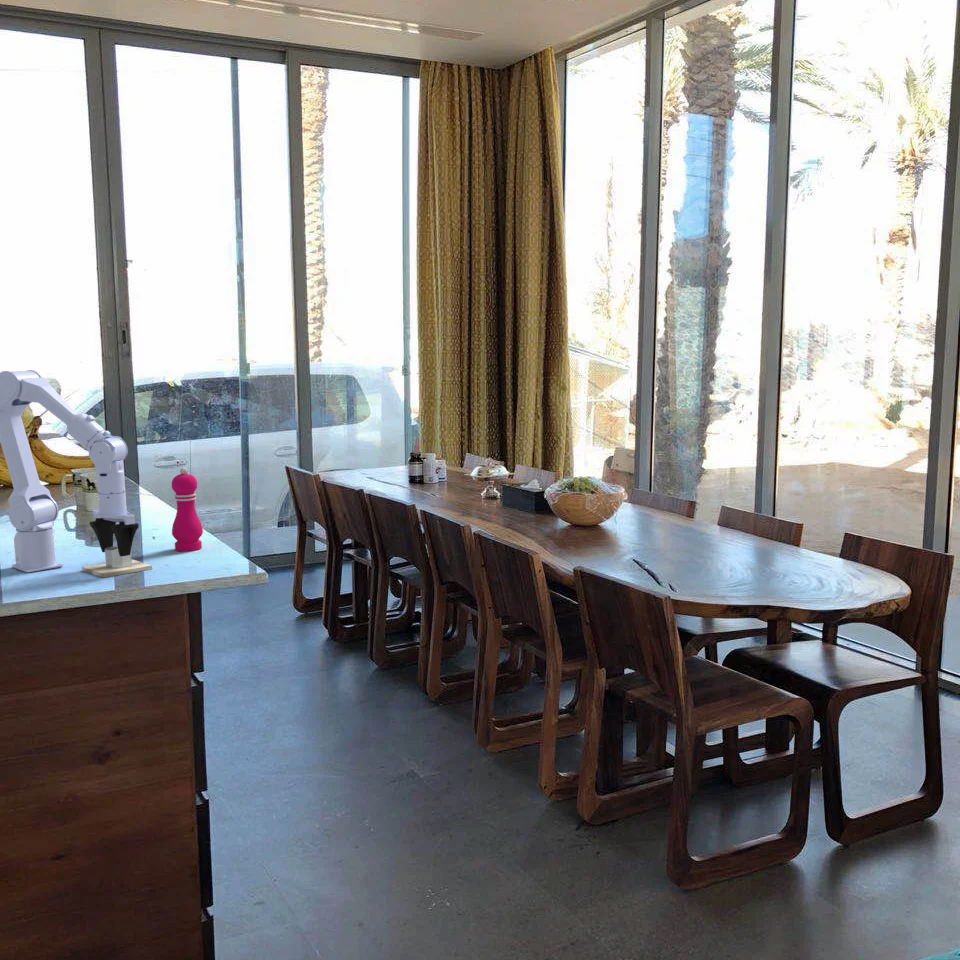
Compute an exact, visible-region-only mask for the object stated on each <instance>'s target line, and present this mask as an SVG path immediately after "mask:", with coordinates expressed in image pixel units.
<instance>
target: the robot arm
mask: <svg viewBox="0 0 960 960" xmlns="http://www.w3.org/2000/svg"><path fill="white" fill-rule="evenodd" d="M32 403H38V404H40V405H41V406H42V407H43V408H44V409H46V410H47V411H48V412H49V413H51V414H52V415H53V416H55V417H56V418H57V419H59V420H60V421H61V422H62V423H64V424H65V426H66V433H67V435H69V436H70V437H72V438H73V439H74V440H75V441H76V442H77V443H79V444H80V445H81V446H82V448H84V449H85V450H87V452H88V457H89V458H90V461H91V462H92V463H93V465H94V470H95V473H96V476H95V477H96V487H97V488H96V489H97V501H98V503H97V504H98V509H92V519H94V520H93V521H89V526H90V527H91V528H92V530H93V531H94V533H95V536H96V538H97V541H98V544H99V547H100V550H101V552H102V553H105V549H106V548H108V547H112V546H114V538H115V539H116V544H117V545H116V546H118V552H119V555H120V556H121V557H122V556H128V555H130V553H131V554H132V547H133V540H134V538H135V535H136V533H137V531H138V529H139V528H140V526H139V523H138V522H136V519H135V517H136V516H135V514H134V513H133V514H131V513H130V512H129V511H128V509H127V508H128V507H127V493H126V482H125V481H126V480H125V478H126V477H125V464H124V460H125V459H126V458H127V456H128V453H129V448H128V445H127V443H126V442H125V440H124V439H123V438H122V437H121V436H118V435H117V436H116V435H111V434H112V433H111V432H110V431H109V430H105V429H104V428H103V427H102V426H101V425H100V424H99V423H98V422H96V417H95V416H93V415H92V414H89V415H88V414H87V413H78V411H76V410H75V409H74V408H73V407H72V406H71V405H70V404H69V403H68V402H67V401H66V400H65V399H64V398H63V397H62V396H61V395H60V394H59V393H58V392H57V391H56V390H55V389H54V388H53V387H52V385H50V382H49V380H48V379H47V378H45V377H43V376H42V374H40V373H39V372H38V371H36V370H34V369H29V370H16V371H15V370H14V371H11V370H10V371H9V370H4V371H0V447H1V450H2V453H3V456H4V459H5V463H6V466H7V470H8V473H9V477H10V480H11V483H12V487H13V490H12V492H11V494H10V496H9V497H8V500H7V501H8V505H9V511H8V518H9V522H10V523H11V525H12V526H13V527H14V528H15V531H16V533H15V535H14V537H13V542H14V543H13V544H14V556H15V558H14V559H15V564H11V567H12V568H14V569H17V570H20V571H22V572H25V573H32V572H38V571H45V570H51V569H58V568H61V567H63V566H64V565H63V564H62V563H59V562H57V561H56V553H55V552H56V551H55V549H56V548H55V539H54V538H55V537H54V536H55V535H54V526H55V521H56V520H57V518H58V516H59V506H58V504H57V502H56V501H55V500H54V499H53V497H52V495H51V491H50V490H49V488H47V487H46V486H45V485H43V484H42V483H41V481H40V477H39V475H38V470H37V467H36V463H35V461H34V457H33V454H32V450H31V447H30V443H29V440H28V436H27V432H26V429H25V426H24V422H23V419H22V414H23V413H24V412H25V410H26V409H27V408H28V406H29V405H30V404H32ZM114 536H115V537H114Z"/></svg>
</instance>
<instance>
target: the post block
mask: <svg viewBox="0 0 960 960" xmlns="http://www.w3.org/2000/svg"><path fill="white" fill-rule="evenodd" d="M152 569H153V565H151V564H150V563H149V564H148V563H145V562H141V561H139V560H136V559H132V565H131V566H128V567H124V568H106V562H101V563H97V564H96V563H95V564H92V565H85V566H82V567H81V571H83V572H87V573H89V574H92V575H95V576H97V577H101V578H109V577H115V576H120V575H126V574H131V573H132V574H133V573H138V572H142V571H148V570H149V571H150V570H152Z"/></svg>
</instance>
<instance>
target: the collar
mask: <svg viewBox="0 0 960 960" xmlns="http://www.w3.org/2000/svg"><path fill="white" fill-rule="evenodd" d="M104 555H105V556H104V558H105V563H106V568H124V567H128V566H131V565H132V560H133V558H132V557H133V555H132V552H131V553H130V555H128V556H122V557H121V556H120V555H119V552H118V546H117V545H113V546H112V547H108V548H106V549H105V552H104Z"/></svg>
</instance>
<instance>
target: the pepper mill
mask: <svg viewBox="0 0 960 960" xmlns="http://www.w3.org/2000/svg"><path fill="white" fill-rule="evenodd" d="M179 473H180V474H177V475H175V476H174V477H173V478H172V481H171V489H172V490H173V492H174V493H175V494H174V501H176V514H175V518H174V520H173V523H172V528H171V535H172V537H173V538H174V539H175V540H176V541H175V542H174V549H175V551H177V552H182V551H183V552H195V551H198V550H201V549H202V548H203V546H202V545H203V543H202V540H200V538H201V537H202V535H203V534H204V530H203V525H202V522H201V519H200V518H199V516H198V514H197V511H196V506H195V500H196V499H197V494H196V493H195V492H196V490H197V489H198V486H199V485H198V480H197V478H196V477H195V476H194V475H193V474H190V473H188V469H187V468H186V467H185V466H182V467H181V468H180V469H179Z"/></svg>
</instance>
